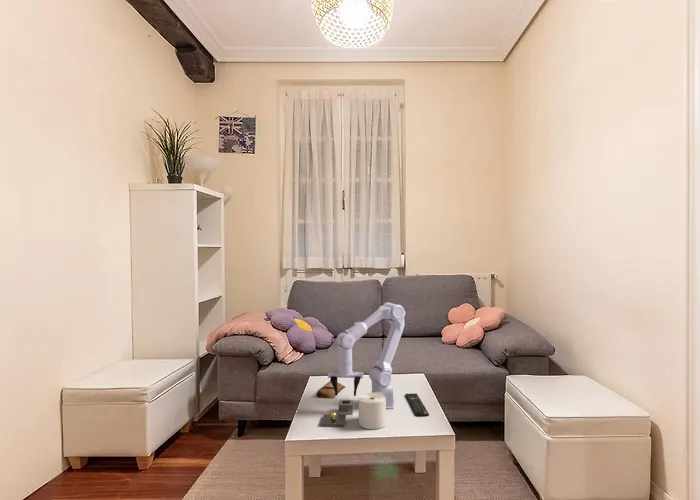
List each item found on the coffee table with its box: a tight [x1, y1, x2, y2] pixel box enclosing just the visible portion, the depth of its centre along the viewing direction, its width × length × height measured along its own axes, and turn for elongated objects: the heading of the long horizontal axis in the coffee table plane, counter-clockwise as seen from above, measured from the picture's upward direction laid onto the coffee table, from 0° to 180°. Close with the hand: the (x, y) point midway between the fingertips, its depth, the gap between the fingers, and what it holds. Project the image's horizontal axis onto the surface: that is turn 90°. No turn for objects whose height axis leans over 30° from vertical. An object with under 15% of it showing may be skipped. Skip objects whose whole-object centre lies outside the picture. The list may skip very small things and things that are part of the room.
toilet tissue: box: [358, 392, 387, 430], centre depth 164 cm, size 11×12×10 cm
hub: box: [319, 411, 347, 428], centre depth 166 cm, size 9×9×4 cm
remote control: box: [404, 392, 430, 418], centre depth 181 cm, size 5×24×1 cm, turn 3°
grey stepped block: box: [338, 399, 355, 416], centre depth 175 cm, size 6×6×4 cm
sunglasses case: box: [316, 380, 346, 400], centre depth 200 cm, size 18×7×7 cm
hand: (345, 394), depth 175 cm, fingers open, 7 cm apart
